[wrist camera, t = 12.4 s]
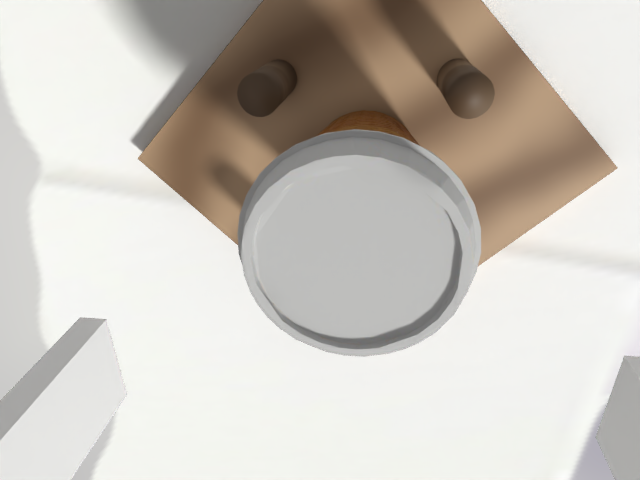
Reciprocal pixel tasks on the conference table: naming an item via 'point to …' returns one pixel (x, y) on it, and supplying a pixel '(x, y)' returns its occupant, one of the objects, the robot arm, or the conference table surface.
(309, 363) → the conference table surface
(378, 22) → the holder
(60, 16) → the conference table surface
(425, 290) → the disposable coffee cup
